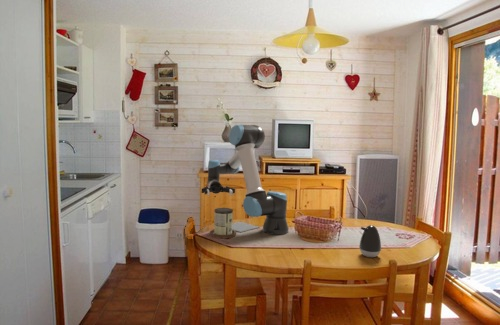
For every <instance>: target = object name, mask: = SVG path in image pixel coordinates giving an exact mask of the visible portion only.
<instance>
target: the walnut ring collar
mask: <svg viewBox="0 0 500 325" xmlns="http://www.w3.org/2000/svg"><path fill="white" fill-rule="evenodd" d="M209 235H210V237H213V238H215V237H216V239H217V238H219V239H231V238H235V237H236V236H237V231H235V230H232V234H230V235H217V234H214V228H213V229H211V230H210V231H209Z"/></svg>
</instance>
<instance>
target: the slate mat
mask: <svg viewBox="0 0 500 325" xmlns="http://www.w3.org/2000/svg"><path fill="white" fill-rule="evenodd" d="M259 228H260V226H257V225H254V224H249V223H247V222H243V221H237V222H234V223H233V222H232V230H235V231H236V233H237V232H238V233H243V232H244V233H245V232H248V231H253V230H256V229H259Z"/></svg>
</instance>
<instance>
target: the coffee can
mask: <svg viewBox="0 0 500 325" xmlns="http://www.w3.org/2000/svg"><path fill="white" fill-rule="evenodd" d="M233 211H234V209H233V208H228V207H217V208H215V209H214V222H213V223H214V225H213V227H214V228H213V229H214V232H213V233H214V234H217V235H230V234H233V233H232V224H233V220H234V219H233V215H234V214H233V213H234V212H233Z"/></svg>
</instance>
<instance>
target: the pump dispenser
mask: <svg viewBox="0 0 500 325" xmlns="http://www.w3.org/2000/svg"><path fill="white" fill-rule="evenodd" d="M360 229H361V230H363V232H362V235H361V236H360V241H359V251H360V253H361V254H362V255H363V256H364V257H366V258H376V257H377V256H379V254H380V252H381V251H382V241H381V236H380V233H379V231H378V229H377V227H376V226H374V225H371V224H370V225H368V226H366V227H363V226H361V227H360Z"/></svg>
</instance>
